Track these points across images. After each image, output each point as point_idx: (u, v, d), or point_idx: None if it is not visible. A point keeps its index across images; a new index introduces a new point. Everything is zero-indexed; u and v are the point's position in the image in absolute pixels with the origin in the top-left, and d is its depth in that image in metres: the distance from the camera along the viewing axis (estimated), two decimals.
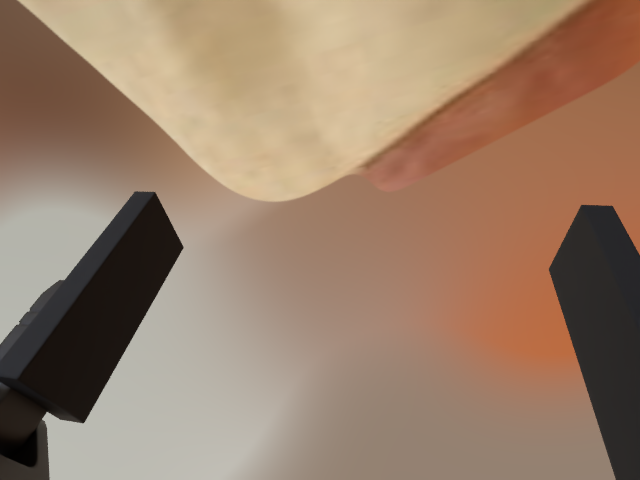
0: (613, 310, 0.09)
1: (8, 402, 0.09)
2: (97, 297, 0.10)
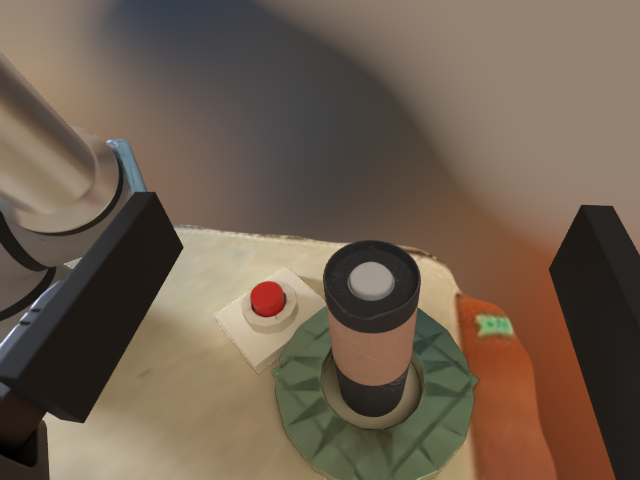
0: (613, 310, 0.09)
1: (8, 402, 0.09)
2: (97, 297, 0.10)
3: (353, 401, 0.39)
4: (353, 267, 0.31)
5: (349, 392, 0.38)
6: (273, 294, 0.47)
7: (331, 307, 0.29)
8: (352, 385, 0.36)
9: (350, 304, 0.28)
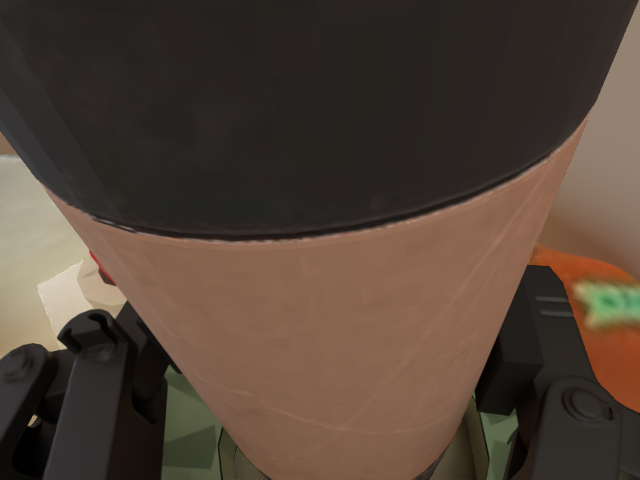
0: None
1: (146, 350, 0.09)
2: None
3: None
4: None
5: None
6: None
7: None
8: None
9: None
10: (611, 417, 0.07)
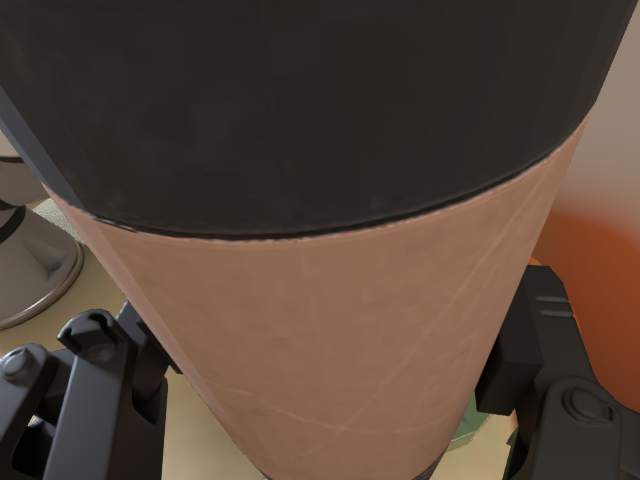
0: None
1: (146, 350, 0.09)
2: None
3: None
4: None
5: None
6: None
7: None
8: None
9: None
10: (611, 417, 0.07)
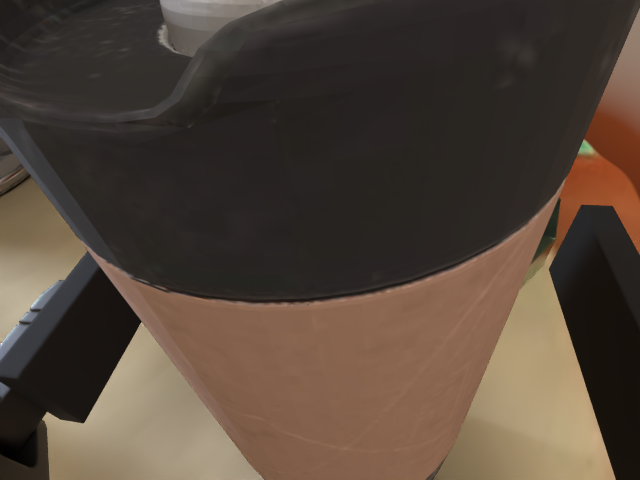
0: (613, 310, 0.09)
1: (8, 402, 0.09)
2: (97, 297, 0.10)
3: None
4: None
5: None
6: None
7: None
8: None
9: (110, 82, 0.04)
10: None
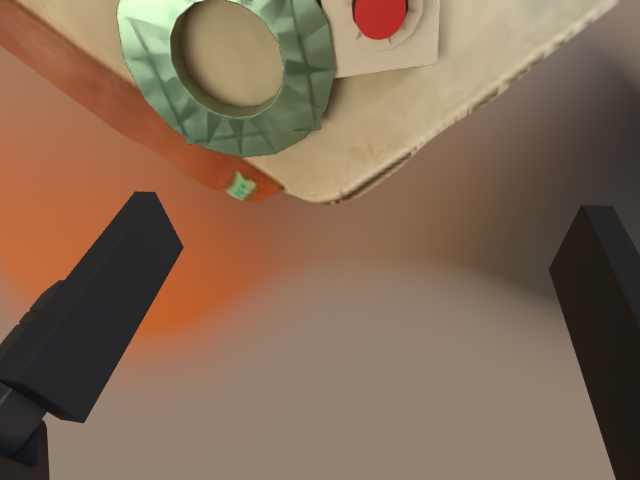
0: (613, 310, 0.09)
1: (8, 402, 0.09)
2: (97, 297, 0.10)
3: None
4: None
5: None
6: (371, 22, 0.31)
7: None
8: None
9: None
10: None
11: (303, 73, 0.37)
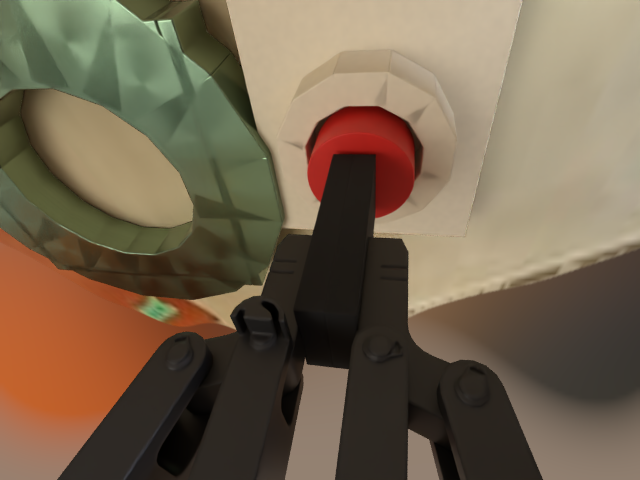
0: None
1: (297, 339, 0.09)
2: None
3: None
4: None
5: None
6: None
7: None
8: None
9: None
10: (399, 350, 0.08)
11: (227, 218, 0.21)
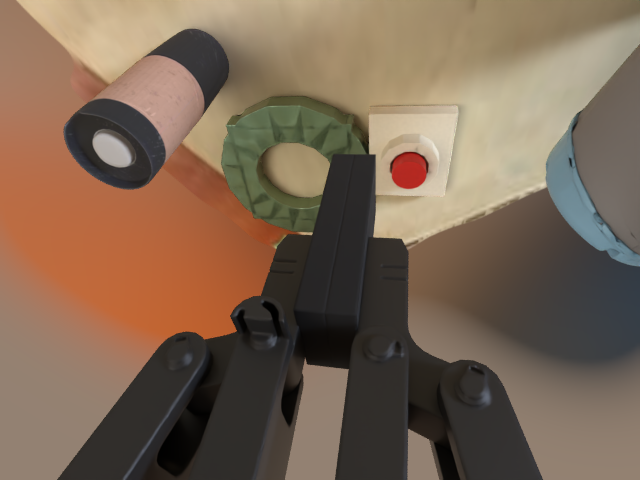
0: None
1: (297, 339, 0.09)
2: None
3: (171, 38, 0.41)
4: (135, 149, 0.32)
5: (165, 43, 0.39)
6: (402, 179, 0.46)
7: (101, 105, 0.30)
8: (149, 53, 0.38)
9: (93, 120, 0.30)
10: (399, 350, 0.08)
11: None
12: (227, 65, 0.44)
